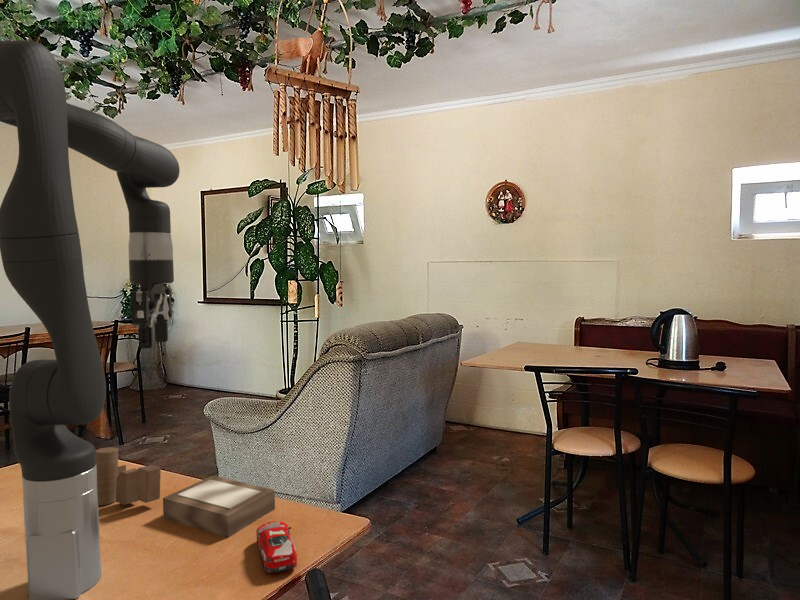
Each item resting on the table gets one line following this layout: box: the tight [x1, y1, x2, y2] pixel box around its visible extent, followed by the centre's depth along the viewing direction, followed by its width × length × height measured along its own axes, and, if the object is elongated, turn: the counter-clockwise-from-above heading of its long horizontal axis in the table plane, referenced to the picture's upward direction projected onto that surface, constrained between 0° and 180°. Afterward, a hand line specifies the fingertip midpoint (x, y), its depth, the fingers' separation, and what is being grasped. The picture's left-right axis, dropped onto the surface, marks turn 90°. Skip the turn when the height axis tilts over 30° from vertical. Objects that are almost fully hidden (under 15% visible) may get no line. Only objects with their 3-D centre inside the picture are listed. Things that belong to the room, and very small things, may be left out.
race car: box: [255, 520, 298, 574], centre depth 88 cm, size 13×5×4 cm, turn 19°
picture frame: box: [162, 475, 276, 538], centre depth 103 cm, size 16×12×4 cm
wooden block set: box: [95, 446, 162, 506], centre depth 110 cm, size 18×9×10 cm, turn 57°
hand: (154, 344), depth 104 cm, fingers open, 8 cm apart
